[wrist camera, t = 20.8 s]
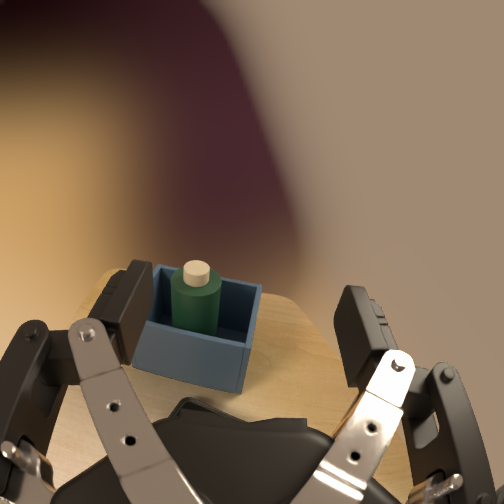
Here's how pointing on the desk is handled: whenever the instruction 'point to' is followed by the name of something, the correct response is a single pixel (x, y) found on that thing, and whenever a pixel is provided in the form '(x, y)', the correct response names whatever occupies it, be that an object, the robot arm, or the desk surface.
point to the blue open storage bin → (200, 337)
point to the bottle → (195, 298)
